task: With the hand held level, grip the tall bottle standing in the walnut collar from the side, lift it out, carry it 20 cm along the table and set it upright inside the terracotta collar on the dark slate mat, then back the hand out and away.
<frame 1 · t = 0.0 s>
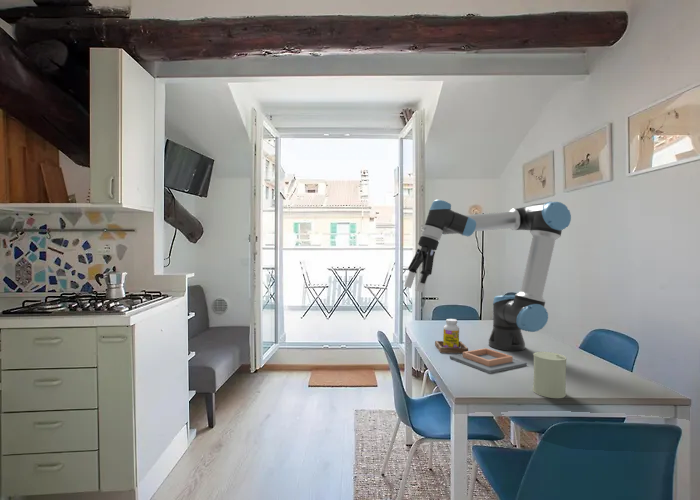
hand: (412, 289, 152), 28 cm above the table, tool tilted 20°, fingers open, 13 cm apart
supplement bottle: (451, 349, 168), resting in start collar
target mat: (487, 361, 150), on the table
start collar: (451, 349, 168), on the table
can: (548, 393, 120), on the table
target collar: (487, 356, 150), on the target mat, point 1 cm above the table
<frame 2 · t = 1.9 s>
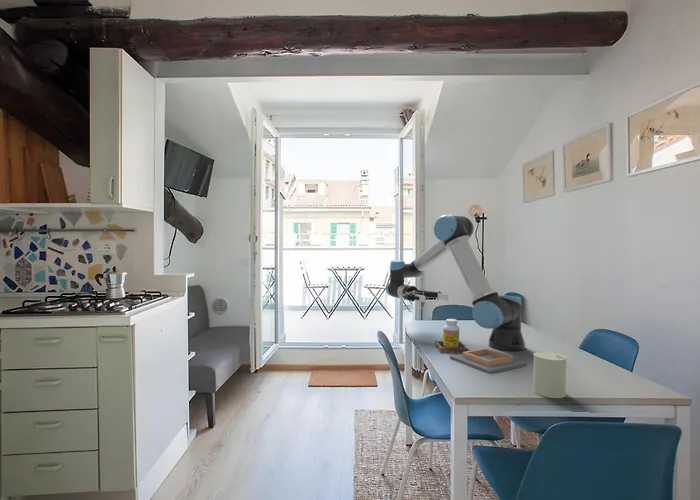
hand: (436, 298, 176), 21 cm above the table, tool horizontal, fingers open, 13 cm apart
nothing on the table moved.
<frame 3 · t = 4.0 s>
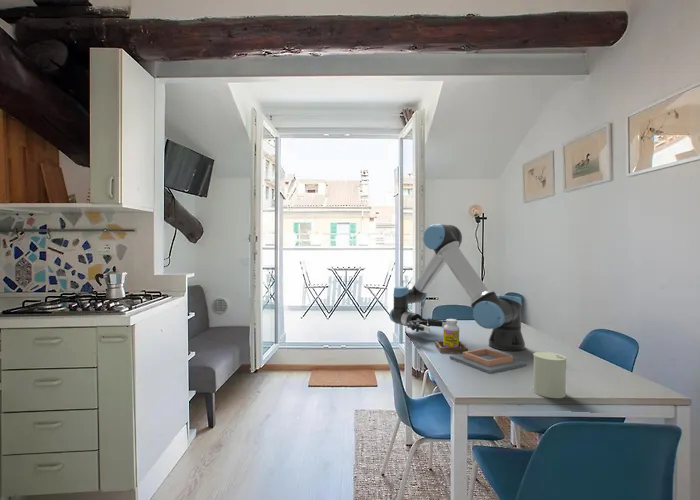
hand: (441, 328, 173), 8 cm above the table, tool horizontal, fingers open, 13 cm apart
nothing on the table moved.
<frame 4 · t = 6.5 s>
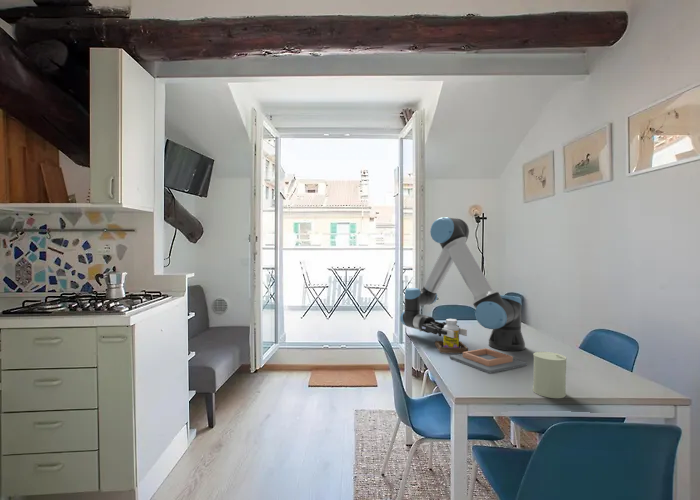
hand: (459, 333, 163), 8 cm above the table, tool horizontal, fingers closed on supplement bottle, 7 cm apart
supplement bottle: (451, 349, 168), resting in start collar, touching gripper
everything else where it was.
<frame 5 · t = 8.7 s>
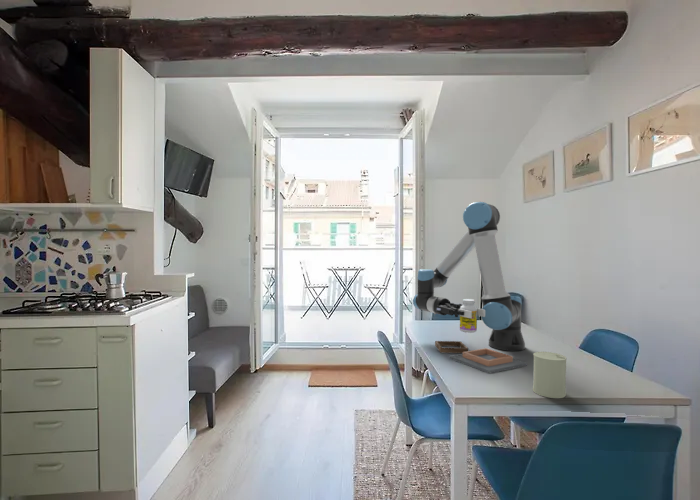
hand: (477, 314, 153), 18 cm above the table, tool horizontal, fingers closed on supplement bottle, 7 cm apart
supplement bottle: (468, 331, 157), point 10 cm above the table, touching gripper
everything else where it was.
when the fingers open (10 cm above the table, at t = 11.4 s): supplement bottle drops 1 cm, resting on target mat.
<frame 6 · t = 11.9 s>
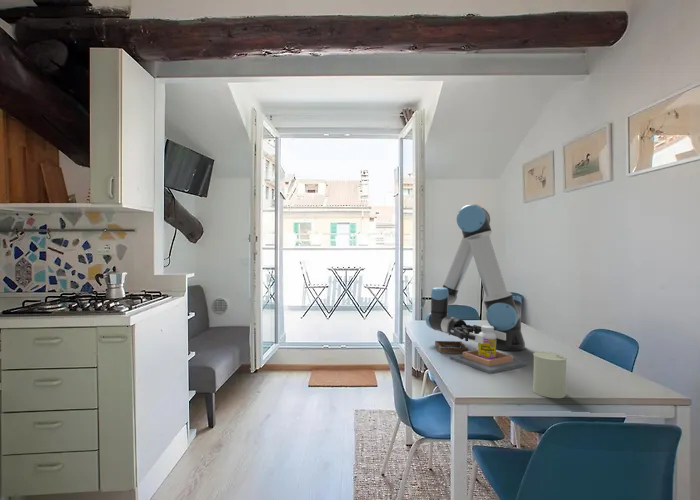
hand: (494, 338, 146), 10 cm above the table, tool horizontal, fingers open, 11 cm apart
supplement bottle: (486, 359, 150), point 1 cm above the table, touching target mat
everything else where it was.
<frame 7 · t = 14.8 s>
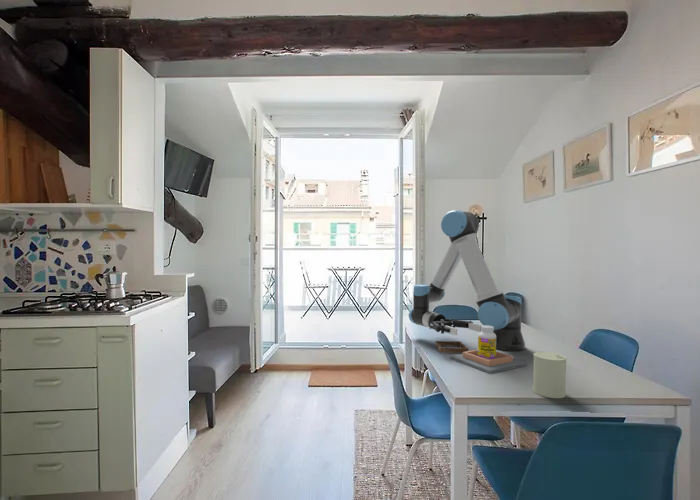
hand: (469, 330, 159), 10 cm above the table, tool horizontal, fingers open, 13 cm apart
nothing on the table moved.
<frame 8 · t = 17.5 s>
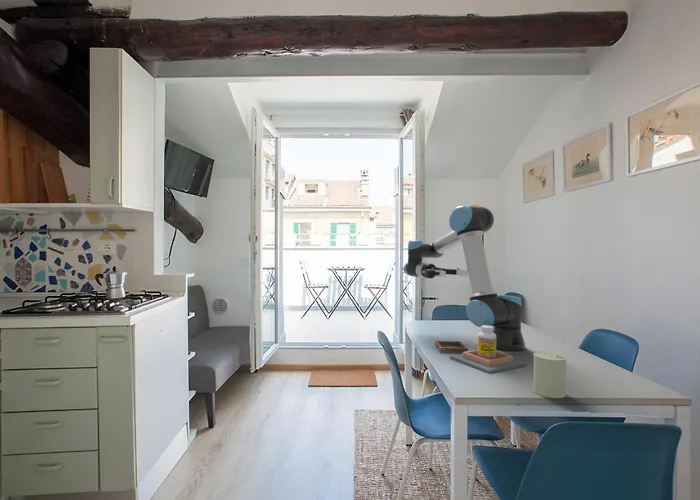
hand: (456, 273, 179), 32 cm above the table, tool horizontal, fingers open, 13 cm apart
nothing on the table moved.
at the end: supplement bottle 0.1 cm off-centre on the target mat, point 0.8 cm above the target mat's base; supplement bottle tilted 0°; the gripper is holding nothing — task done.
